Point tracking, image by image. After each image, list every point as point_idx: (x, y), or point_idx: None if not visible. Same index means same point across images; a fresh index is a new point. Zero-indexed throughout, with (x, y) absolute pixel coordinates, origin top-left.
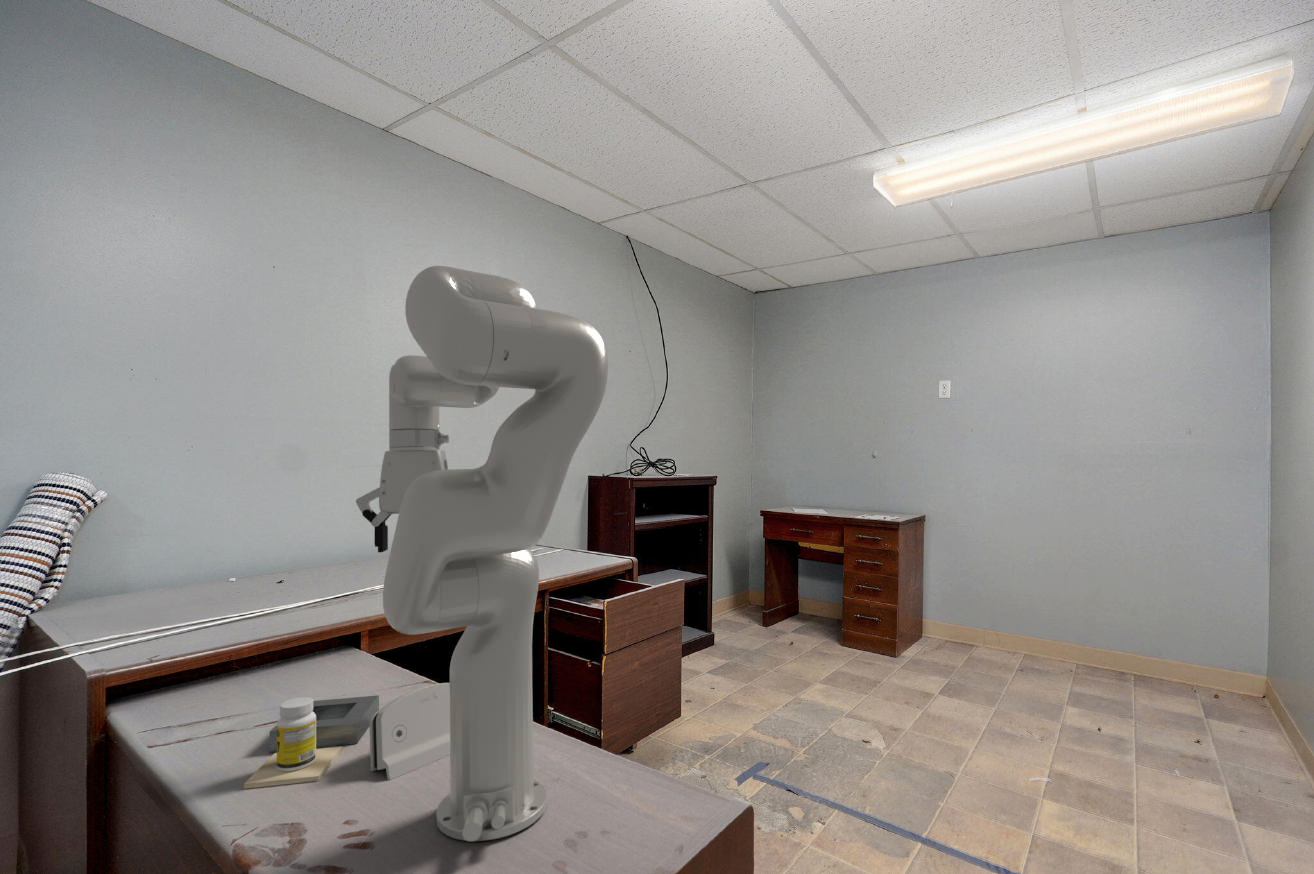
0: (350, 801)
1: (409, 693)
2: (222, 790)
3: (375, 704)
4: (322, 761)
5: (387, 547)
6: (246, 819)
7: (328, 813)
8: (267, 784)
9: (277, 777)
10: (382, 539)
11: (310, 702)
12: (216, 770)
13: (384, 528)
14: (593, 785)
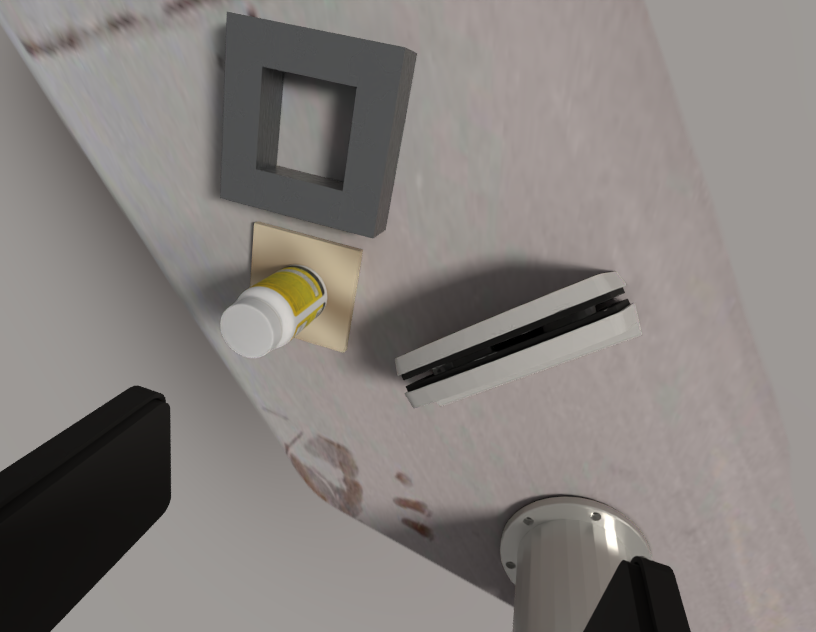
0: (398, 432)
1: (462, 380)
2: (225, 309)
3: (402, 86)
4: (339, 301)
5: (158, 415)
6: (284, 408)
7: (375, 446)
8: None
9: None
10: (101, 575)
11: (271, 344)
12: (187, 229)
13: (12, 620)
14: (732, 573)
